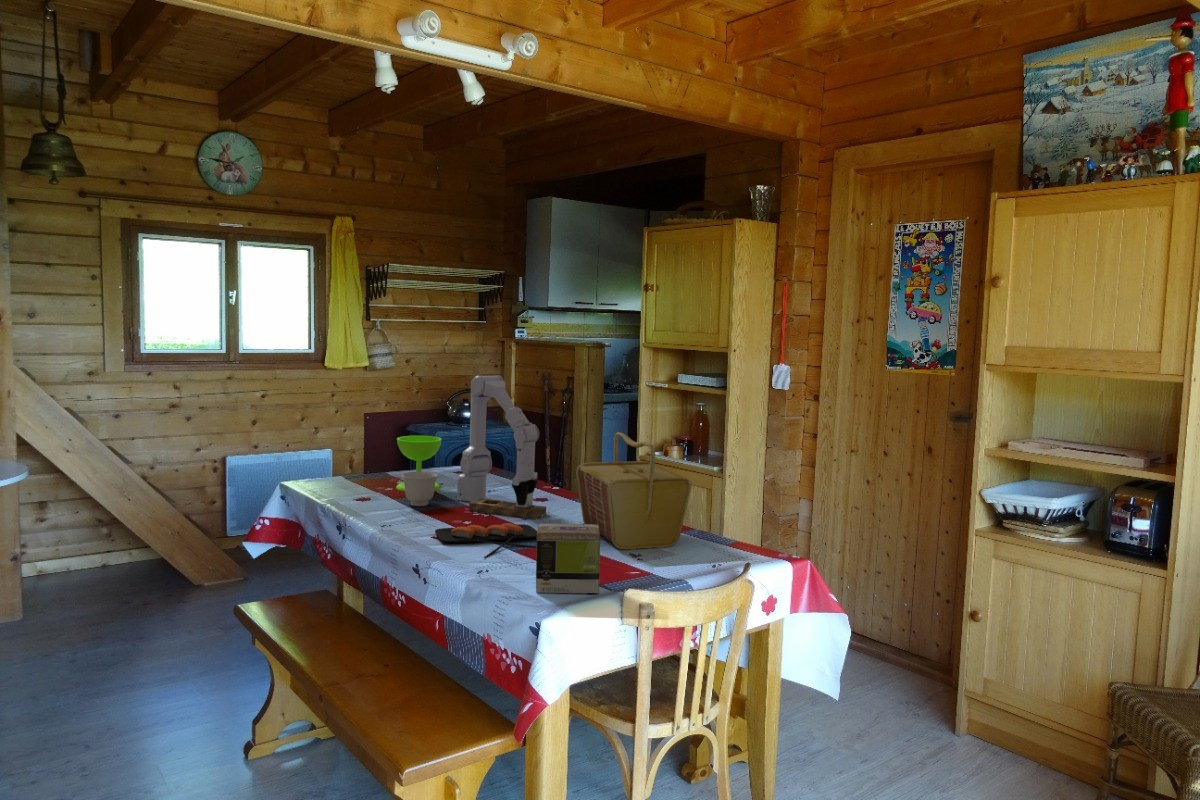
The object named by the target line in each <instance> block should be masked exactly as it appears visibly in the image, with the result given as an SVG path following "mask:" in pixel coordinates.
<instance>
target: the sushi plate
mask: <svg viewBox="0 0 1200 800" xmlns="http://www.w3.org/2000/svg"><path fill="white" fill-rule="evenodd" d="M434 532H435V535H436V537H437V538H439V540H440V541H442V542H444V543H475V542H476V541H477V542H480V543H488V544H497V545H499V546H498V547H496V548H495V549H493V550H492V551H490V552H489V553H488V554H486V555H484V557H483V558H485V559H487V558H489V557H490V555H491V556H492V555H494V554H495V553H497V552H498V551H499V550H500V549H501V548H502V547H503V546H505V545H506V546H513V547H519V548H520V547H521V548H536V547H537V545H531V544H530V545H529V544H519V543H509V542H510V541H512V540H522V539H523V538H524V539H530V538H537V530H536V529H535V528H534V527H533V526H532V525H529V524H525V523H524V524H523V523H520V524H517V523H516V524H515V523H509V522H507V523H502V524H492V525H478V524H477V525H476V524H470V525H467V526H457V527H445V528H444V527H442V528H436V529H435V530H434ZM499 541H500V542H499ZM501 541H505V542H501ZM477 542H476V543H477ZM493 553H494V554H493ZM488 556H489V557H488ZM486 557H487V558H486Z"/></svg>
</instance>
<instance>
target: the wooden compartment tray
mask: <svg viewBox="0 0 1200 800" xmlns="http://www.w3.org/2000/svg"><path fill="white" fill-rule="evenodd" d="M468 504H469V505H468V511H470V512H479V513H484V514H485V513H486V514H492V515H493V514H494V515H499V516H500V515H501V516H502V515H503V516H509V517H515V516H518V517H517V518H523V517H526V518H525V519H531V518H535V519H534V520H536V518H537V519H539V518H541V517H543V516H545V515H547V506H543V505H538V504H537V505H536V504H533V505H532V508H530V509H520V508H516V502H511V501H507V500H500V499H499V500H498V499H492V498H491V499H478V500H476V501H473V502H470V501H469V502H468ZM544 514H545V515H544ZM542 515H543V516H542ZM540 516H541V517H540ZM538 517H539V518H538Z"/></svg>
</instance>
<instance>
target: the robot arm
mask: <svg viewBox="0 0 1200 800" xmlns="http://www.w3.org/2000/svg"><path fill="white" fill-rule="evenodd" d="M506 383H507V382H505V381H504V378H503V376H501V375H499V374H497V375H476V376H474V378H472V380H471V381H470V417H469V418H470V421H469V423H470V424H469V446H468V447H467V448H466V449H465V450H463V451H462V456H461V460H460V464H459V466H460V470H461V472H462V473H461V474H459V476H458V479H457V489H456V490H457V492H456V493H457V495H456V496H457V497H456V498H455V499H456V501H462V502H469V503H470V502H473V501H476V500H478V499H492V498H491V496H490V497H489V496H487V475H489V472H490V471H491V470H492V465H493V461H492V455H491V451H490V450H489V449H488V448H487V447H486V434H487V431H486V430H487V403H488V401H489V400H491V399H492V398H494V400H496V402H497V404H499V406H500V407H501V408H502V410H504V412H505V416H504V417H505V420H506V421H507V423H508V424H509V426H510V427H511V429H512V430H513V432H514V433H513V439H514V441H515V448H516V473H515V474H516V475H515V476H514V478H512V481H511V482H512V483H511V487H512V490H513V491H514V494H515V499H516V498H517V503H518V505H525V501H526V494H527V492H533V493H534V492H535V489H536V487H537V485H538V483H539V481H538V480H537V479H538V472H535V458H536V457H535V456H536V442H537V441H538V440H539V438H540V430H539V428H538V426H537V425H536V424H534V423H532V422H530V421H529V419H528V418H527V417H526V415H525V414H524V412H523V409H522V408H520V407H517V406H515V404H514V402H513V401H512V399H511V397H510V395H509V394H508V391H507V390H506Z"/></svg>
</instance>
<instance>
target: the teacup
mask: <svg viewBox="0 0 1200 800" xmlns="http://www.w3.org/2000/svg"><path fill="white" fill-rule="evenodd" d="M401 477H402V478H403V482H404V485H405V491H404V493H405V496H406V498H407V500H409V501H410V505H411V506H415V507H425V506H428V505H429V501H430V500H432V499H433V497H434V494H435V491H434V489H435V483H437V479H438V477H439V474H437V473H436V472H431V471H421V472H416V471H409V472H404V473H402V474H401Z"/></svg>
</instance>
